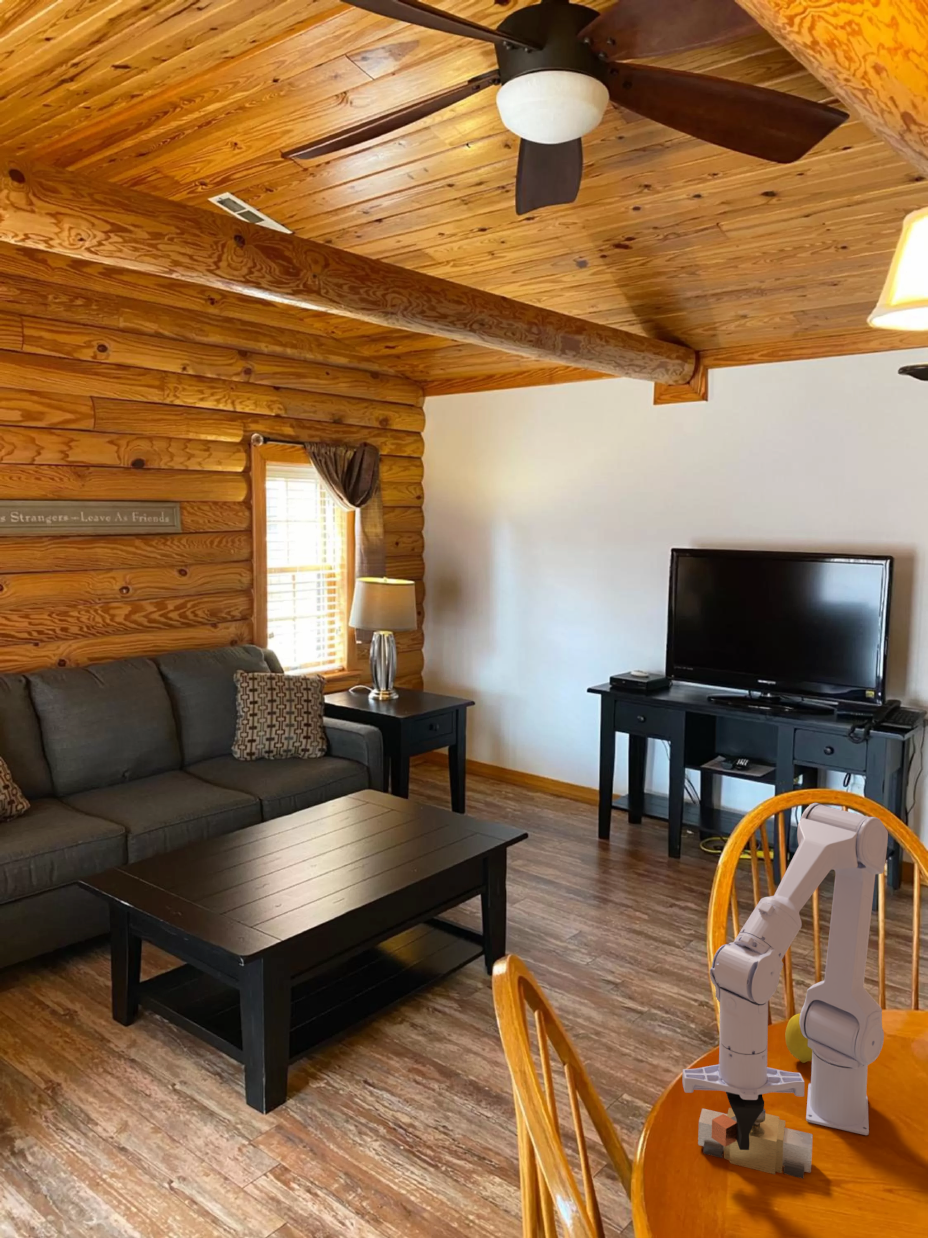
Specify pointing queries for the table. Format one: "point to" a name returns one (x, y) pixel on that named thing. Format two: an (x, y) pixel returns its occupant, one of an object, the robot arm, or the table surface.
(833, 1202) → the table surface
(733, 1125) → the lever
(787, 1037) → the lemon
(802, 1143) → the valve
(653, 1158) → the table surface
